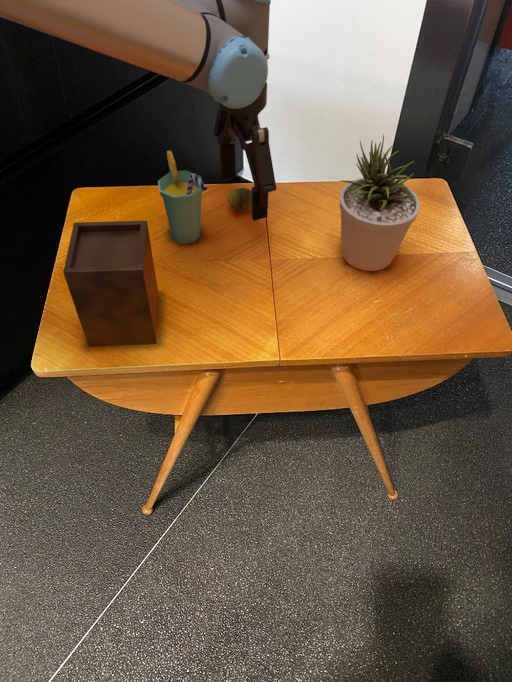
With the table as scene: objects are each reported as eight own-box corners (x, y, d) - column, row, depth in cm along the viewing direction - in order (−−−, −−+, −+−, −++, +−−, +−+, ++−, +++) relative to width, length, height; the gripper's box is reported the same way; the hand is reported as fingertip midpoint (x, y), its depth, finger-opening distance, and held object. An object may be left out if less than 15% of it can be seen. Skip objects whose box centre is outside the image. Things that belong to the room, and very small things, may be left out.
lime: (224, 209, 102) (224, 187, 98) (244, 200, 104) (244, 177, 100) (239, 221, 100) (239, 198, 96) (259, 211, 102) (260, 188, 98)
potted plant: (417, 245, 97) (450, 142, 82) (384, 291, 89) (414, 186, 74) (353, 220, 101) (374, 117, 86) (317, 261, 94) (332, 156, 78)
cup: (228, 250, 95) (226, 175, 83) (189, 267, 92) (182, 192, 80) (186, 209, 102) (179, 135, 91) (149, 224, 99) (137, 149, 88)
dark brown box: (88, 346, 81) (62, 272, 69) (95, 298, 87) (73, 222, 75) (156, 343, 81) (142, 269, 70) (159, 295, 88) (146, 220, 76)
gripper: (303, 113, 78) (293, 231, 94) (231, 44, 92) (234, 157, 108) (256, 124, 75) (254, 243, 92) (190, 52, 90) (198, 166, 106)
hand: (243, 196), depth 100 cm, fingers open, 13 cm apart
